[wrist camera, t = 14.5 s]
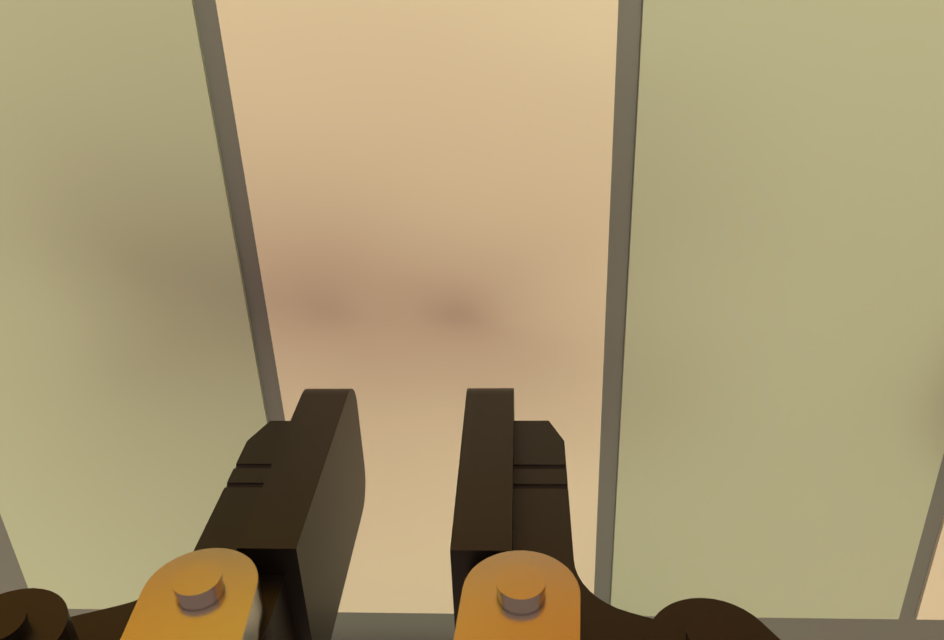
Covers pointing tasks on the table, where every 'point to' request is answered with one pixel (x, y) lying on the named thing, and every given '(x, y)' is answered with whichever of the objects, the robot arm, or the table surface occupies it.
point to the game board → (485, 287)
